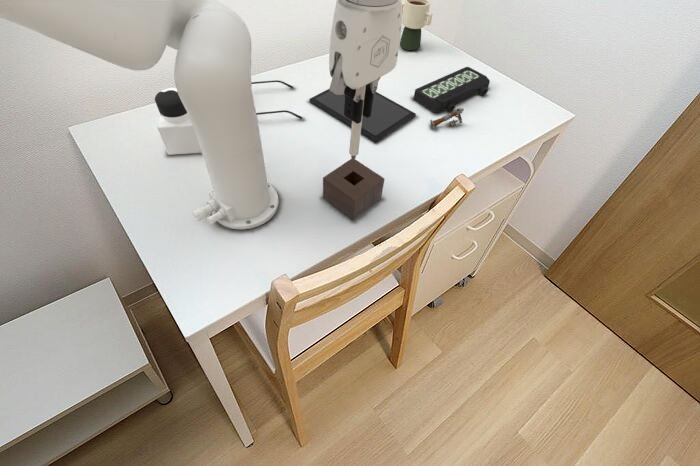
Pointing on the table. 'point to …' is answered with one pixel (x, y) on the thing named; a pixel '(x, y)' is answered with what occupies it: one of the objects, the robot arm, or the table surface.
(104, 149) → the table surface
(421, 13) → the character mug
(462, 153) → the table surface
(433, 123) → the wooden post with brackets
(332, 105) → the tablet
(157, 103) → the medicine bottle
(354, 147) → the stylus
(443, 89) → the digital display
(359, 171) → the block
